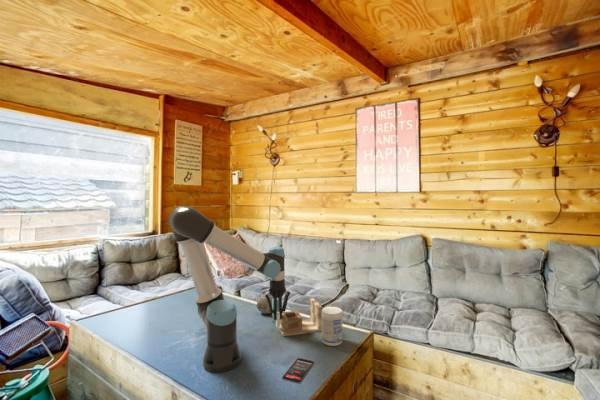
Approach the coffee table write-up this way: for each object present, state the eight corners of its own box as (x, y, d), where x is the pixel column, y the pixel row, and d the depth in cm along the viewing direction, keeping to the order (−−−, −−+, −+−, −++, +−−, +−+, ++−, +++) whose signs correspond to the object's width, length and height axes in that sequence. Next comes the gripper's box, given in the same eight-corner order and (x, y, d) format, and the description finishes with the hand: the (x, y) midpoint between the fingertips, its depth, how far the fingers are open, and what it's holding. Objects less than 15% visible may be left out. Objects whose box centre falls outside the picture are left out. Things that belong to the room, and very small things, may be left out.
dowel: (280, 322, 160) (280, 300, 160) (273, 323, 159) (273, 301, 159) (279, 319, 164) (278, 297, 164) (271, 320, 163) (271, 298, 163)
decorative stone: (277, 312, 174) (277, 294, 174) (269, 317, 167) (269, 299, 167) (263, 309, 179) (262, 292, 179) (254, 314, 172) (254, 296, 171)
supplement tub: (337, 348, 133) (337, 315, 133) (318, 343, 138) (317, 311, 137) (345, 339, 141) (345, 308, 141) (326, 335, 146) (326, 304, 146)
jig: (322, 330, 150) (321, 306, 150) (282, 336, 145) (282, 311, 144) (313, 320, 163) (313, 298, 162) (277, 325, 157) (276, 302, 157)
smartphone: (281, 378, 112) (298, 357, 125) (281, 380, 112) (298, 359, 125) (299, 382, 109) (314, 361, 123) (299, 384, 109) (314, 363, 123)
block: (302, 329, 149) (302, 317, 149) (284, 331, 147) (284, 319, 147) (297, 321, 158) (297, 310, 158) (280, 324, 155) (280, 312, 155)
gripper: (288, 275, 155) (288, 320, 156) (262, 277, 152) (263, 324, 152) (291, 279, 148) (292, 327, 149) (265, 282, 144) (266, 331, 145)
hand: (277, 325), depth 151 cm, fingers closed
